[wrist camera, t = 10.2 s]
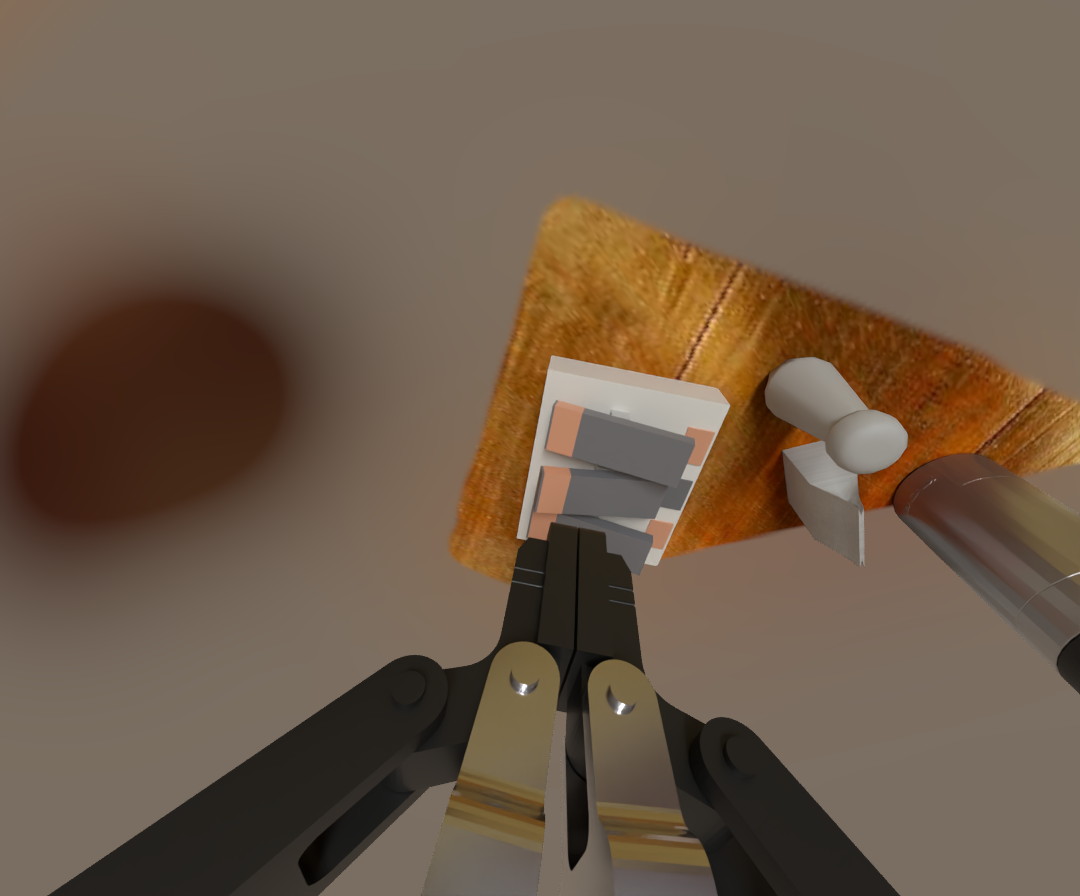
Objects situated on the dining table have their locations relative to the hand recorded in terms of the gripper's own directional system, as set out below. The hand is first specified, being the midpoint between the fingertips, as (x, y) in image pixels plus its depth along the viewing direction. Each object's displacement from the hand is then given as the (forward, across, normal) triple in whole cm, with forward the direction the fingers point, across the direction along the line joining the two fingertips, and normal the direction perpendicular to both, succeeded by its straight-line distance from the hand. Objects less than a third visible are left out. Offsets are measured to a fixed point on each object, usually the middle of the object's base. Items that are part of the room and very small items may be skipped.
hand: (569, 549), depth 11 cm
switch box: (+29, -6, +14) cm, 33 cm away
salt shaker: (+29, -20, +2) cm, 35 cm away
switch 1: (+22, -5, +8) cm, 25 cm away
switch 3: (+22, -5, +20) cm, 30 cm away
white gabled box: (+29, -26, +11) cm, 41 cm away
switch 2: (+22, -5, +14) cm, 27 cm away
